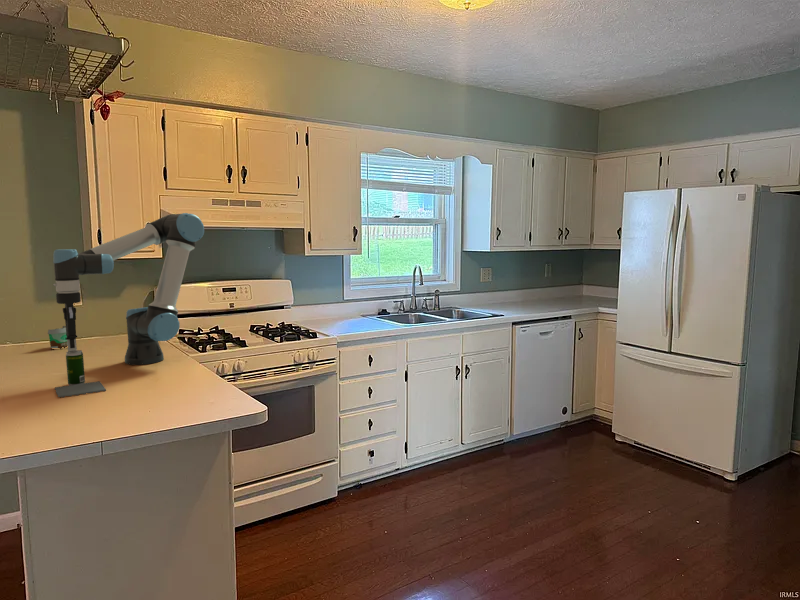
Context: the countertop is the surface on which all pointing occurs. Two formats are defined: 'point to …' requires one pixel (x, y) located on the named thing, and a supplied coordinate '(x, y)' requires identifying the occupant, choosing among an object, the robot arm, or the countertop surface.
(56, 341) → the food container
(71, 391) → the rubber mat
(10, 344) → the countertop surface
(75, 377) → the green soda can
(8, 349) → the countertop surface
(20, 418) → the countertop surface
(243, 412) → the countertop surface
